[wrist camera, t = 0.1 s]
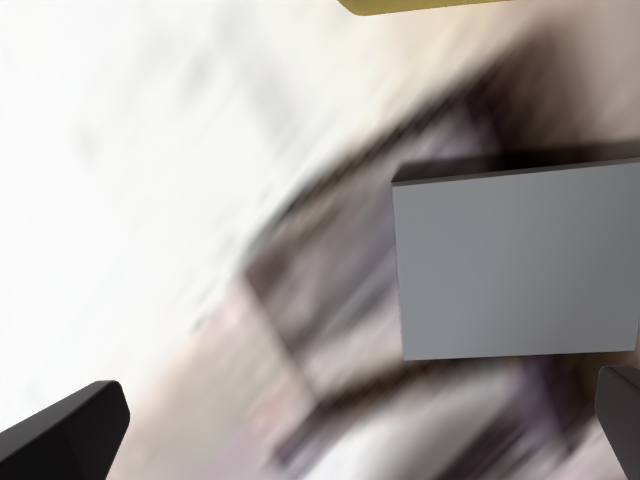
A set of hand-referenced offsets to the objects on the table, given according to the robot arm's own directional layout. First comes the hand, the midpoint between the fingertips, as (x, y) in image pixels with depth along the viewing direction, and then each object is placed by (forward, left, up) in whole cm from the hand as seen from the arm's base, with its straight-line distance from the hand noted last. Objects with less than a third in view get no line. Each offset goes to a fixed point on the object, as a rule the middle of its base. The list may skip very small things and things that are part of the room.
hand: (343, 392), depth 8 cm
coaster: (-4, -8, -15) cm, 17 cm away
